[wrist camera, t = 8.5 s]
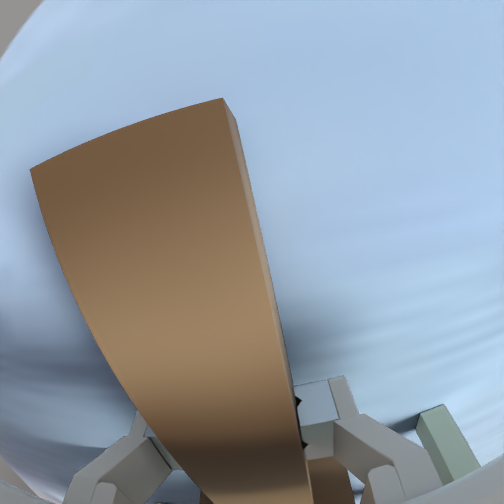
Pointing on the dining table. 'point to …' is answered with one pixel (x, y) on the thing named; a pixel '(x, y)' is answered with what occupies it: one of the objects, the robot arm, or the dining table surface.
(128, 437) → the robot arm
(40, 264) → the dining table surface
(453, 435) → the footstool
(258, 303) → the push stick
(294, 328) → the dining table surface
